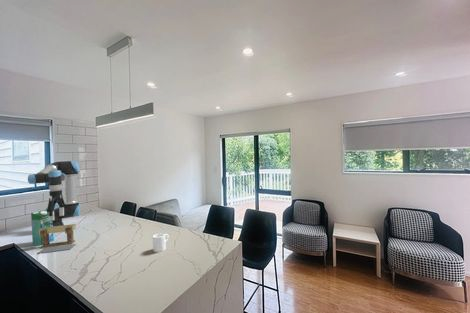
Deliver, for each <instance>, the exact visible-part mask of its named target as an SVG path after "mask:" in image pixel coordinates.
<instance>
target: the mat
mask: <svg viewBox="0 0 470 313" xmlns="http://www.w3.org/2000/svg"><path fill="white" fill-rule="evenodd" d="M76 245H77V244H76V243H73V244H68V245H60V246H53V247H45V248H42V249H41V250H39V251H38V252H37V253H36V254H37V255H40V253H42V254H47V253H48V254H49V253H56V252H62V251H70V250H71V249H73V248H74V247H75V246H76Z"/></svg>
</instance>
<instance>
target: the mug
mask: <svg viewBox="0 0 470 313" xmlns="http://www.w3.org/2000/svg"><path fill="white" fill-rule="evenodd" d="M169 237H170V235H169V234H168V233H161V232H160V233H156V234H153V236H152V251H153V252H154V253H160V252H164V251H165V250H166V249H167V245H166V242H167V241H168V240H169Z"/></svg>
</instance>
